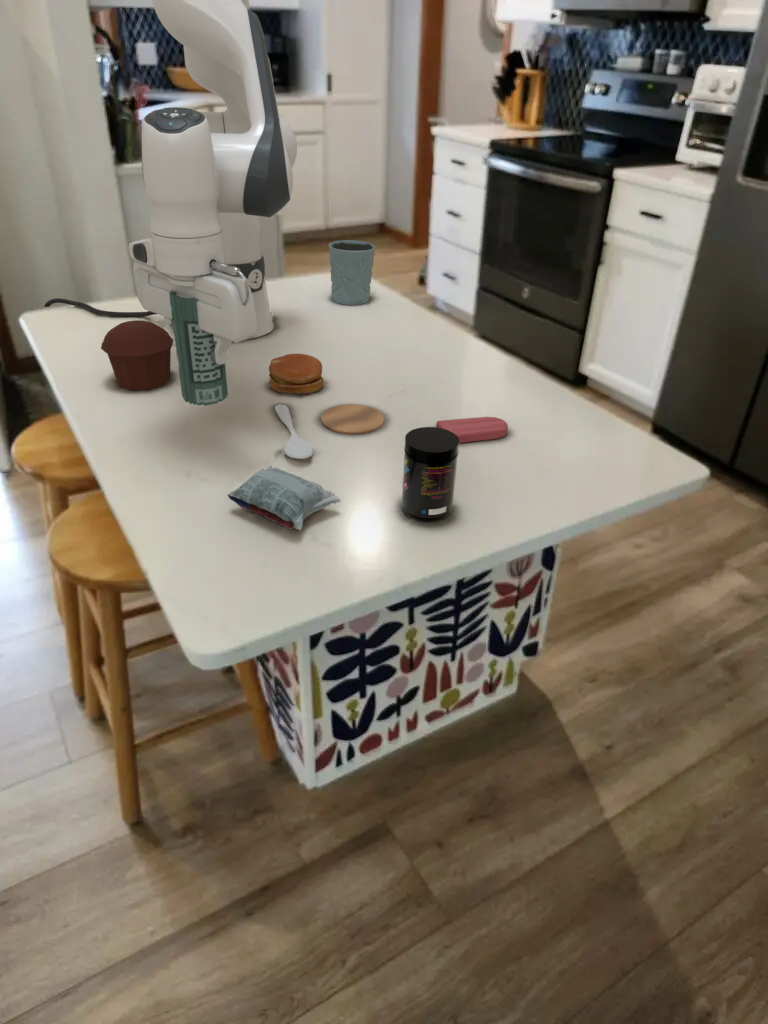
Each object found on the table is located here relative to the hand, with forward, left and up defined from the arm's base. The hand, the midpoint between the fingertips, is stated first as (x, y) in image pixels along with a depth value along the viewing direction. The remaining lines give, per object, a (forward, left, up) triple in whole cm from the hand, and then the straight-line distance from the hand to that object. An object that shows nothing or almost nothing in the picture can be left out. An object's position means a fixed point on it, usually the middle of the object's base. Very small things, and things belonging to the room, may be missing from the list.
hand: (200, 355), depth 103 cm
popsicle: (+27, +27, -14) cm, 41 cm away
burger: (-5, +24, -14) cm, 28 cm away
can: (0, 0, -6) cm, 6 cm away
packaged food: (+21, -6, -14) cm, 26 cm away
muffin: (-26, +8, -14) cm, 30 cm away
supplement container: (+35, +6, -14) cm, 38 cm away
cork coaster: (+11, +20, -14) cm, 27 cm away
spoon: (+7, +10, -14) cm, 18 cm away
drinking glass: (-28, +67, -14) cm, 74 cm away
